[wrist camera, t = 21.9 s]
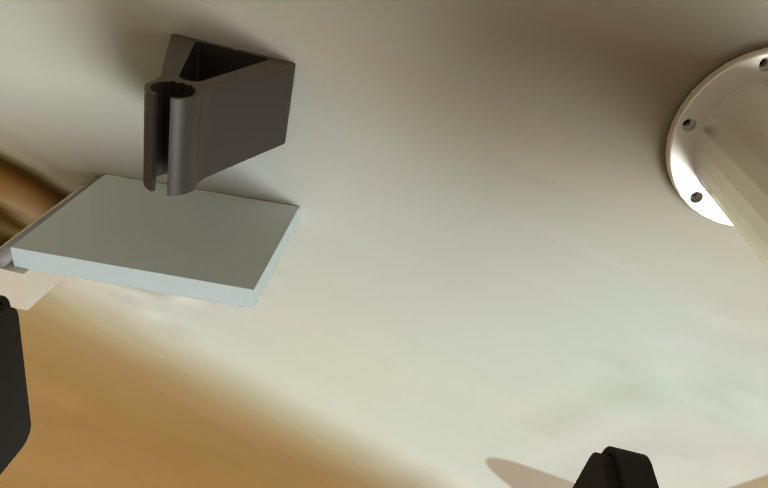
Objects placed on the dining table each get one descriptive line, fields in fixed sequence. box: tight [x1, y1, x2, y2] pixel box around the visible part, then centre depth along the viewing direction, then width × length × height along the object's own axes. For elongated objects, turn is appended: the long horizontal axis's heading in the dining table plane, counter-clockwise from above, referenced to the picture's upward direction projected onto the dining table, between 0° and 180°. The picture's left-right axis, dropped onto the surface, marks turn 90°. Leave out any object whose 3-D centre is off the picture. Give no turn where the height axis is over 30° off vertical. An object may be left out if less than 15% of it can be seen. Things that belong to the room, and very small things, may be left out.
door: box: [0, 174, 299, 309], centre depth 45 cm, size 17×2×13 cm, turn 83°
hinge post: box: [0, 185, 84, 311], centre depth 46 cm, size 3×3×12 cm
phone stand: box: [143, 34, 295, 196], centre depth 40 cm, size 9×6×12 cm, turn 77°
